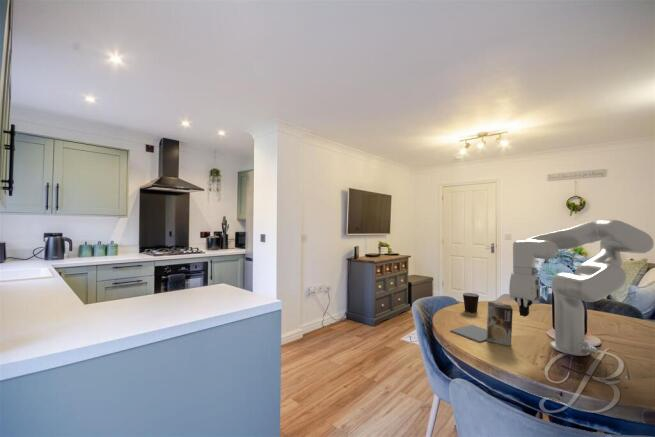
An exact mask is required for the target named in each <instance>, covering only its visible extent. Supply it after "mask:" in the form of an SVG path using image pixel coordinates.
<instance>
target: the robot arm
mask: <svg viewBox="0 0 655 437" xmlns="http://www.w3.org/2000/svg"><path fill="white" fill-rule="evenodd" d="M596 242H600V245H599V246H600V247H599V252H598V254H596V255H595V256H592V257H591V258H589V259H588V260H586V261H584V262H582V263H581V264H580V265H578V266H577V267H576V268H575V271H574V273H572V272H570V273H569V272H559V273H556V274H554V276H553V277H552V279H551V289H552V292H553V297H554V298H553V300H554V340H552V341H551V342H550V347H551V348H552V349H554V350H555V351H558V352H561V353H562V354H563V353H564V354H568V355H570V356H576V357H577V356H579V357H583V356H589V355H590V354H593V355H597V354H598V353H599V352H598V349H597V348H596V347H595V346H593V345H589V344H588V341H587V340H585V306H584V303H583V302H582V301H584V302H586V303H587V302H588V303H595V302H598V301H600V300H602V299H604V298H606V297H608V296H609V295H611V294H613V293H614V292H616V291H618V290H619V289H621V288H622V287H623V286H624V285H625V283H626V280H627V274H626V272H625V269H624V268H622V264H623V261H622V258H621V257H622V256H621V253H632V254H647V253H648V252H650V251H651V250H653V248H654V239H653V237H652V236H651V235H650V234H648V233H647V232H645V231H643V230H642V229H639V228H637V227H635V226H633V225H631V224H629V223H626V222H624V221H621V220H618V219H594V220H590V221H587V222H584V223H580V224H577V225H575V226H572V227H569V228H566V229H560V230H556V231H551V232H548V233H543V234H538V235H536V236H531V237H530V238H527V239H525V240H515V241H513V243H512V272H511V274H510V278H509V279H510V280H509V288H508V289H509V290H508V291H509V298H510V299H511V300H512V301H513V300H514V301H515V302H516V303H517V306H519V307H518V310H519V311H518V312H519V316H521V317H524V318H525V317H528V316H529V315H530V306H532V305H538V304H540V299H541V287H540V280H539V276H538V275H537V274H539V270H538V269H536V259H541V260H550V259H554V258H556V257H557V256H558V255H559V252H560V250H573V249H578V248H581V247H584V246H587V245H591V244H594V243H596Z"/></svg>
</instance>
